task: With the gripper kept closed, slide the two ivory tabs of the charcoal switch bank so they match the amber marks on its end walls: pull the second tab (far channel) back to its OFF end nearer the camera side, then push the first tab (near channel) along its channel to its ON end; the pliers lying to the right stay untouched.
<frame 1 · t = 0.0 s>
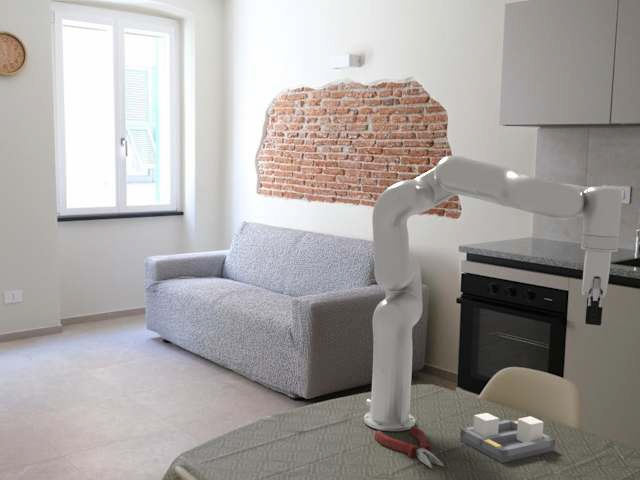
hand: (593, 319, 164), 31 cm above the table, tool pointing down, fingers open, 9 cm apart
pliers: (406, 453, 167), on the table
tab 2: (530, 430, 171), point 4 cm above the table, slide at 8.0 cm
tab 1: (485, 427, 172), point 4 cm above the table, slide at 0.0 cm
switch bank: (506, 445, 172), on the table
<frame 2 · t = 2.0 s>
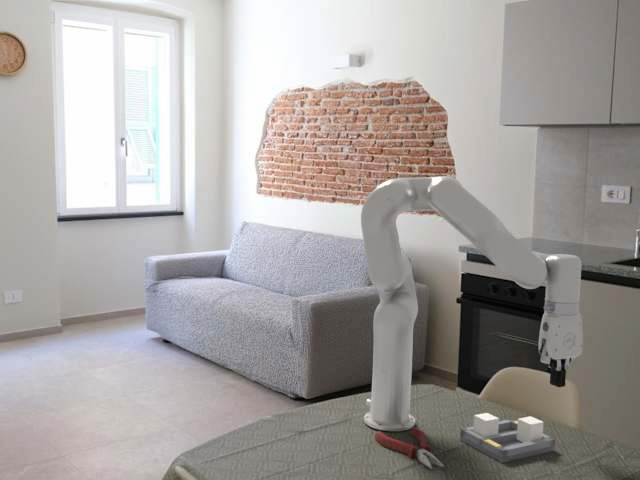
hand: (557, 385, 173), 14 cm above the table, tool pointing down, fingers closed
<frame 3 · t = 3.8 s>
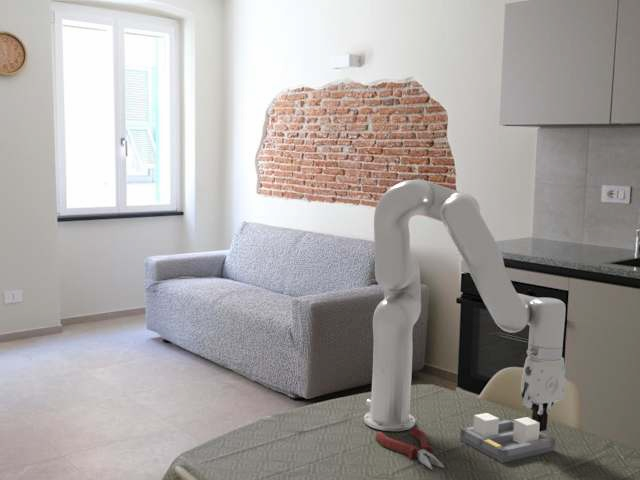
hand: (538, 428, 173), 4 cm above the table, tool pointing down, fingers closed
tab 2: (526, 431, 171), point 4 cm above the table, slide at 6.8 cm, touching gripper
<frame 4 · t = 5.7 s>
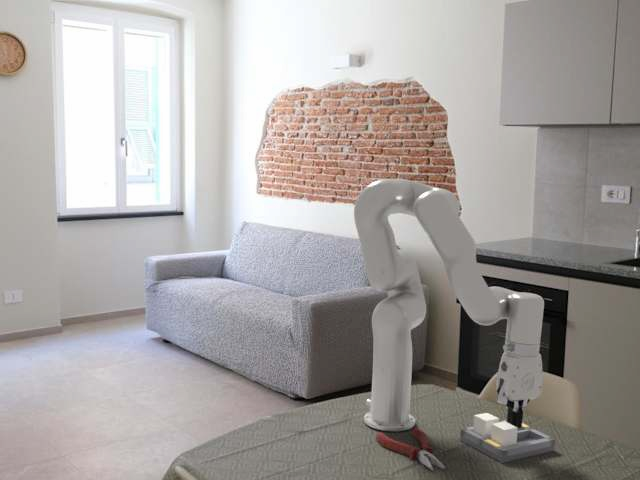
hand: (513, 425, 169), 6 cm above the table, tool pointing down, fingers closed
tab 2: (503, 436, 167), point 4 cm above the table, slide at 0.0 cm
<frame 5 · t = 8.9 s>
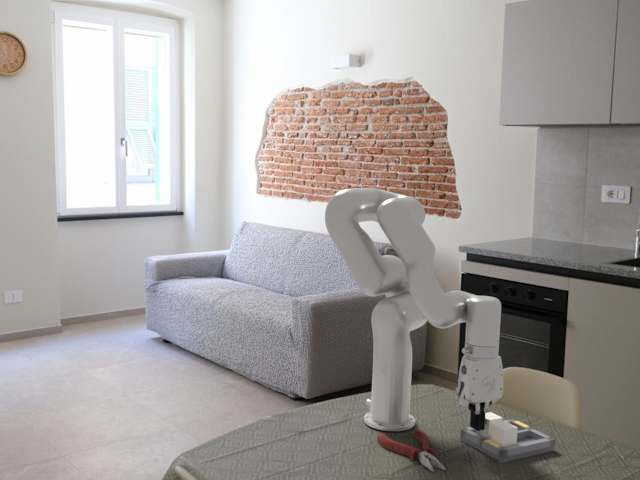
hand: (477, 428, 171), 4 cm above the table, tool pointing down, fingers closed
tab 1: (489, 426, 173), point 4 cm above the table, slide at 1.2 cm, touching gripper
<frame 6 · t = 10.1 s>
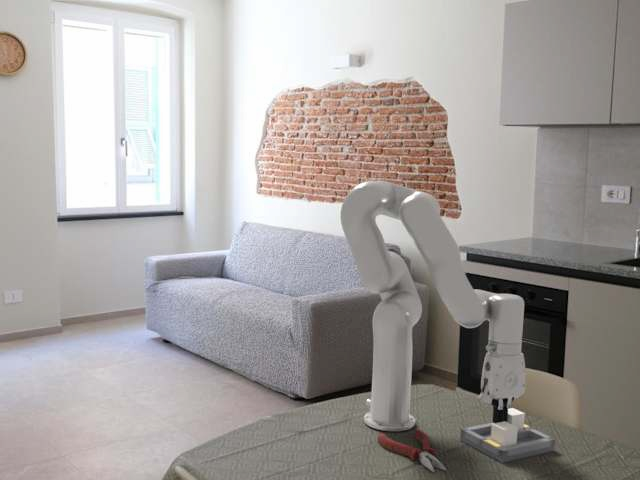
hand: (499, 423, 174), 4 cm above the table, tool pointing down, fingers closed
tab 1: (511, 421, 176), point 4 cm above the table, slide at 8.1 cm, touching gripper
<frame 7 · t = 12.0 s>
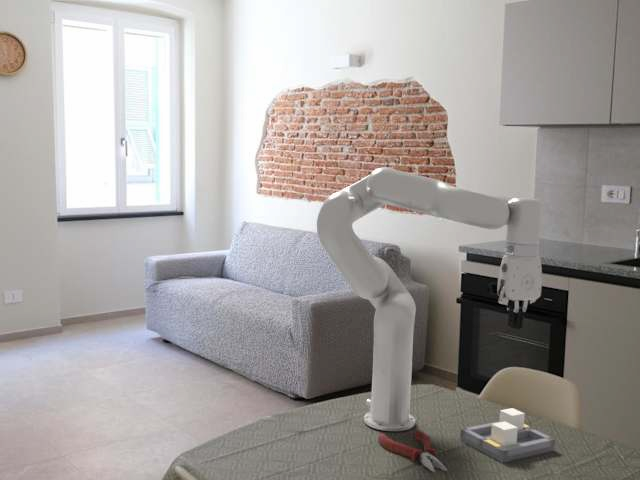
hand: (515, 327, 176), 26 cm above the table, tool pointing down, fingers closed
tab 1: (511, 422, 176), point 4 cm above the table, slide at 8.0 cm
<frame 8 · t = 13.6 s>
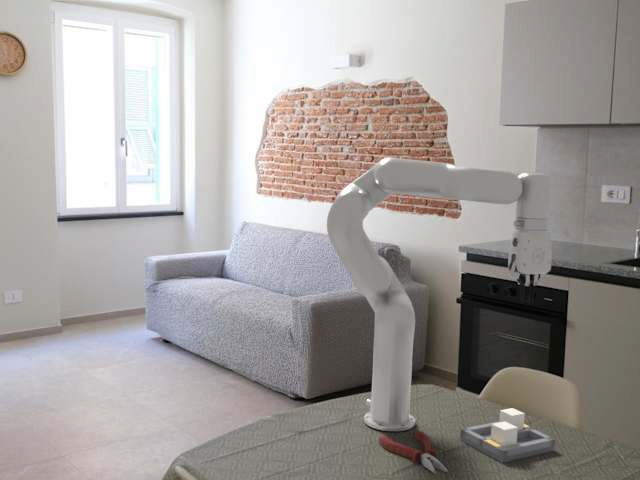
hand: (526, 301, 178), 32 cm above the table, tool pointing down, fingers closed
at the end: tab 1 slide at 8.0 cm; tab 2 slide at 0.0 cm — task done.
